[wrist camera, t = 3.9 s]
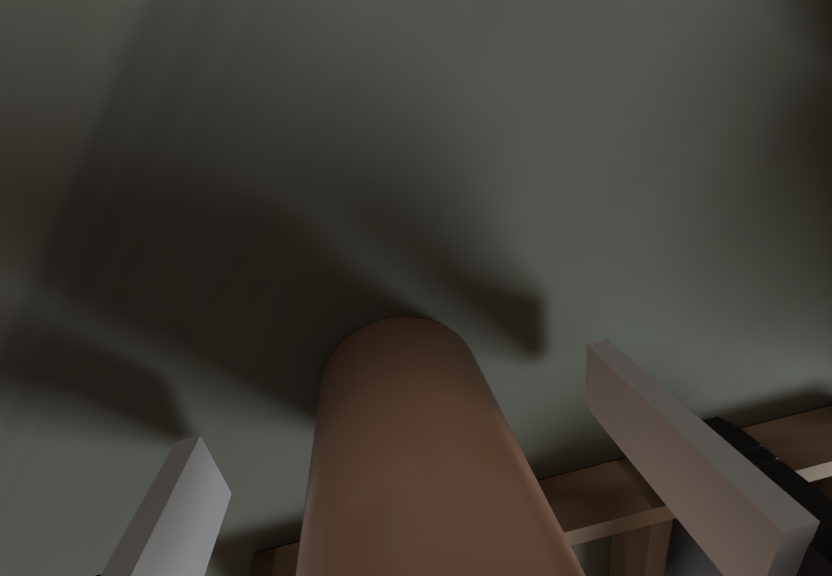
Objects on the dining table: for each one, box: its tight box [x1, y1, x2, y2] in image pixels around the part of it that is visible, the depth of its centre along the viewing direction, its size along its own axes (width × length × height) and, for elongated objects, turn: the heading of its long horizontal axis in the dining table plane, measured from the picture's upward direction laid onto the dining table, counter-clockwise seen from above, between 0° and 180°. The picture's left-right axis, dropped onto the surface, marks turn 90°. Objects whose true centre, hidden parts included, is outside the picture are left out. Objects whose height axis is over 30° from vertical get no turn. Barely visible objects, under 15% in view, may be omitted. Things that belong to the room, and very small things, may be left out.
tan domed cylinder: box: [296, 317, 585, 576], centre depth 10 cm, size 6×6×10 cm
